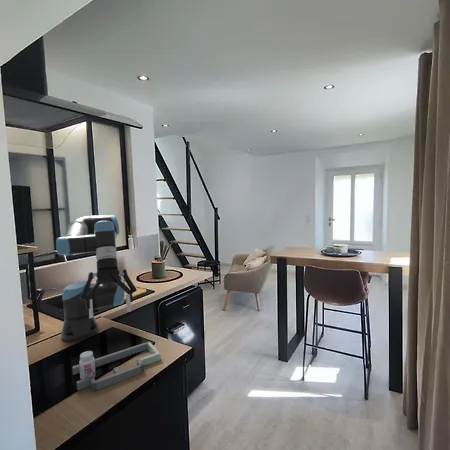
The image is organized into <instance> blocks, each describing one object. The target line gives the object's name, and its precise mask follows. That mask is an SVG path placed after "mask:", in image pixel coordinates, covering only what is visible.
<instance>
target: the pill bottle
mask: <svg viewBox="0 0 450 450" xmlns="http://www.w3.org/2000/svg"><path fill="white" fill-rule="evenodd" d="M93 352H94V351H92V350H87V351H84V352H81V353H80V355H79V362H78V363H79V364H78V365H79V367H80V373H79V377H80V379H79V380H82V379H85V378H88V377H91V376H94V378H95V377H96V367H95V360H94V359H95V357H94V353H93Z"/></svg>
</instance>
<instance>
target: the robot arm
mask: <svg viewBox="0 0 450 450" xmlns="http://www.w3.org/2000/svg"><path fill="white" fill-rule="evenodd" d="M118 221H119V220H118V218H117V216H116V215H115V214H106V215H103V214H101V215H84V216H81V217H78V218H75V219H73V220H72V221H71V222H69V223H68V225H67V227H66V235H65V236H61V237H57V238H56V239H55V241H56V242H55V246H56V247H55V248H56V253H57V255H59V256H71V255H79V254H89V253H90V254H91V253H95V258H96V260H97V261H96V272H92V271H91V272H88V274H87V280H81V281H77V282H73V283H71V284H69V285H67V286H65V287H64V288H63V289H62V298H61V300H62V304H63V305H62V308H63V316H64V321H63V326H62V329H61V333H60V334H61V335H60V336H61V339H62V341H66V342H78V341H82V340H83V341H84V340H86V339H88V338H91V337H93V336H95V334H97V333H98V331H99V325H98V322H97V319H96V317H95V316H94V310H97V309H105V308H110V307H116V306H120V305H123V304H124V303H125V302H126V312H127V313H129V312H132V304H131V303H133V302H134V301H133V294H134V293H135V292H137V290H138V289H137V287H136V286H135V284H134V283H133V281H132V280H131V279H130V277H129V275H128V272H127V269H122V270H119V265H118V259H117V257H118V256H117V245H116V243H117V242H116V239H117V237H118V236H119V235H120V226H119V222H118ZM95 277H96V279H95ZM93 279H95V280H96V281H95V283H92V281H93ZM125 299H126V300H125Z"/></svg>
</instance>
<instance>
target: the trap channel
mask: <svg viewBox="0 0 450 450" xmlns="http://www.w3.org/2000/svg"><path fill="white" fill-rule="evenodd" d="M147 350H148V351H149V352H150V353H151V354H150V355H147V356H144V357H142V358H138V359H136V365H135V366H132V367H129V368H127V369H125V370H122V371H121V370H120V368H119V366H116V367H113V374H111V375H108V376H104V377H103V378H100V379H98V380H96V379H95V377H94V376H91V377H88V378H85V379H82V380H81V379H79V380H78V381H76V387H77V388H76V389H77V391H81V390H83V389H86V388H89V387H90V388H91V391H92V392H96V391H98V390H101V389H103V388H105V387H108V386H111V385H114V384H116V383H120V382H122V381H124V380H126V379H129V378H132V377H134V376H137V375H140V374H142V373H144V372H145V366H148V365H149V364H153V363H156V362H158V361H161V353H160V351H158V349H157V348H156V347H155V346H154V345H153V344H152V342H151V341H147V342H142V343H140V344H137V345H134V346H131V347H127V348H125V349H123V350H119V351H116V352H112V353H110V354H106V355H103V356H101V357H98V358H94V360H95V368H97V367H100V366H103V365H106V364H109V363H112V362H115V361H118V360H121V359H124V358H127V357H129V356H133V355H135V353H136V354H138V352H139V353H141V352H145V351H147ZM132 354H133V355H132ZM147 364H148V365H147ZM144 365H145V366H144ZM77 374H80V367H79V364H77V365H76V364H75V365H73V366H72V375H74V376H75V375H77Z"/></svg>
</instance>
